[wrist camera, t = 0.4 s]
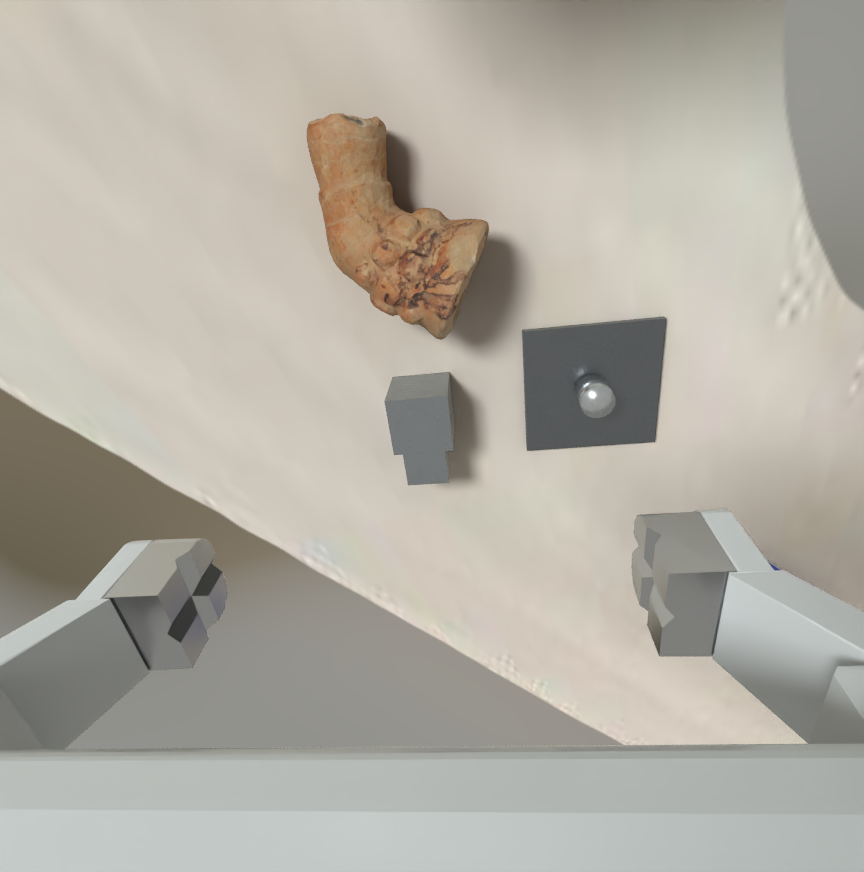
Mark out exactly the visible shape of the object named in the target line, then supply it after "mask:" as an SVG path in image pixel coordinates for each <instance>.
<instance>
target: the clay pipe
mask: <svg viewBox="0 0 864 872" xmlns="http://www.w3.org/2000/svg"><path fill="white" fill-rule="evenodd" d="M307 143H308V148H309V152H310V157H311V161H312V164H313V167H314V170H315V174H316V177H317V180H318V183H319V187H320V192H319V201H320V204H321V207H322V211H323V216H324V222H325V227H326V234H327V241H328V246H329V250H330V253H331V256H332V258H333V260H334V262H335V264H336V265H337V266H338V268H339V269H340V270H341V271H342V272H343V273H344V274H345V275H347V276H348V277H349V278H351V279H352V280H353V281H355V282H356V283H357V284H358V285H359V286H361V287H362V288H363V289H365V290H366V291H367V292H368V293H369V294H370V300H371V302H372V303H373V305H374V306H375V307H376V308H378V309H379V310H381V311H383V312H385V313H387V314H389V315H392V316H394V315H400V317H401V318H402V320H403V321H405V322H407V323H410V324H412V325H414V324H419V325H421V326H423V327H425V328H426V329H427V330H428V331H429V332H430V333H431V334H432V335H433V336H434V337H435V338H437V339H444V338H445V337H446V336H447V335H448V333H449V332H450V331H451V329H452V327H453V325H454V323H455V320H456V318H457V315H458V312H459V309H460V305H461V302H462V299H463V297H464V295H465V292H466V289H467V287H468V284H469V282H470V279H471V277H472V274H473V272H474V269H475V268H476V266H477V264H478V262H479V259H480V257H481V254H482V251H483V249H484V246H485V243H486V240H487V236H488V231H489V226H488V223H487V222H486V221H484V220H476V219H463V220H449V219H447V218H446V217H445V216H444V215H443V214H442V213H441V212H440V211H438V210H436V209H431V208H422V209H418V210H416V211H415V212H413V213H408V212H405V211H403V210H401V209H400V208H399V207H398V206H397V205H396V204H395V202H394V200H393V191H392V185H391V183H390V182H389V181H388V179H387V155H386V127H385V124H384V123H383V122H382V121H381V120H380V119H379V118H378V117H373V118H370V119H362V118H358V117H355V116H347V115H345V114H330V115H328V116H327V117H325V118H323V119H317V120H314V121H311V122H309V124H308V128H307Z"/></svg>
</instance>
